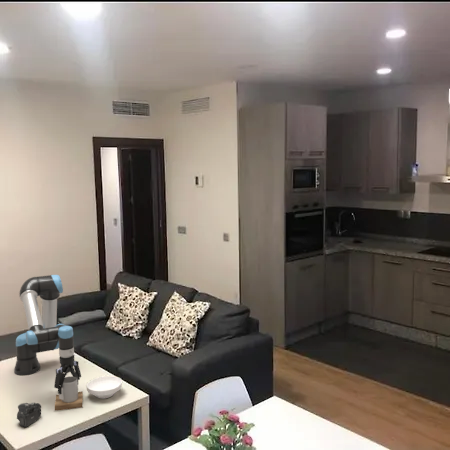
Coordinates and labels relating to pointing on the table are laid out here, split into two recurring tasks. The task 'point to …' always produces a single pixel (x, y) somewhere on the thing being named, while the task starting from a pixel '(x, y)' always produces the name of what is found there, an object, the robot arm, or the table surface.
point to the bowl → (104, 386)
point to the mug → (70, 389)
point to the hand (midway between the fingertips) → (68, 395)
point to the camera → (28, 413)
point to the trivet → (63, 406)
